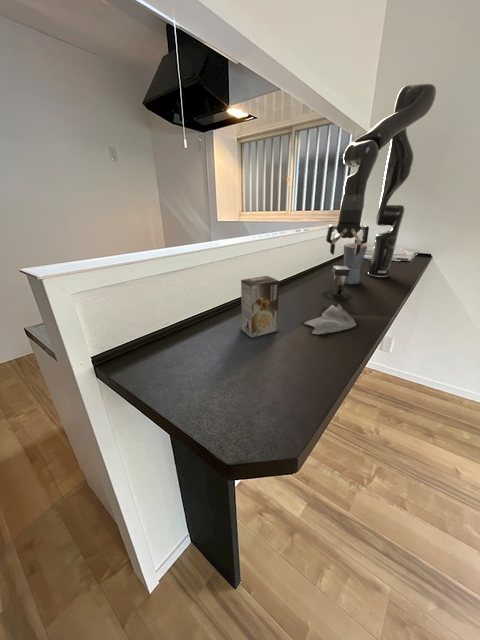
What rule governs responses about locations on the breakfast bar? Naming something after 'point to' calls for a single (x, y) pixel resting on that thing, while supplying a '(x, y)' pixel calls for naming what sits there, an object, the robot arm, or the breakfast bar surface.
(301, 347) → the breakfast bar surface
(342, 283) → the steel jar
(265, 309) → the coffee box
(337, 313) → the cloth
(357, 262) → the moka pot
